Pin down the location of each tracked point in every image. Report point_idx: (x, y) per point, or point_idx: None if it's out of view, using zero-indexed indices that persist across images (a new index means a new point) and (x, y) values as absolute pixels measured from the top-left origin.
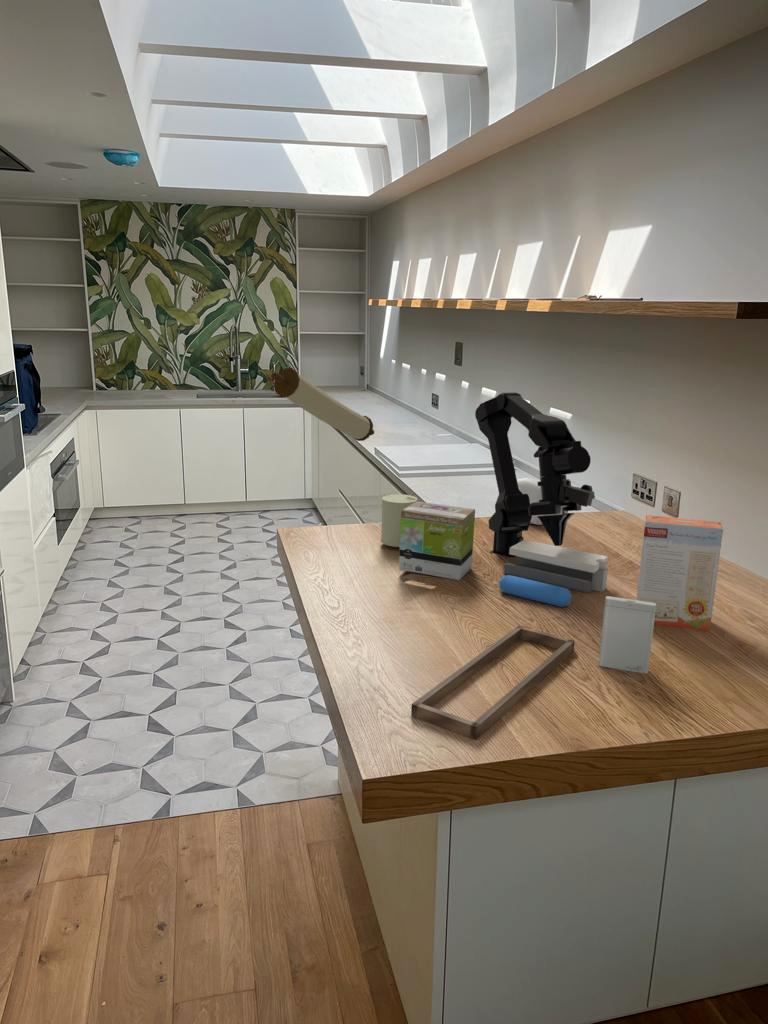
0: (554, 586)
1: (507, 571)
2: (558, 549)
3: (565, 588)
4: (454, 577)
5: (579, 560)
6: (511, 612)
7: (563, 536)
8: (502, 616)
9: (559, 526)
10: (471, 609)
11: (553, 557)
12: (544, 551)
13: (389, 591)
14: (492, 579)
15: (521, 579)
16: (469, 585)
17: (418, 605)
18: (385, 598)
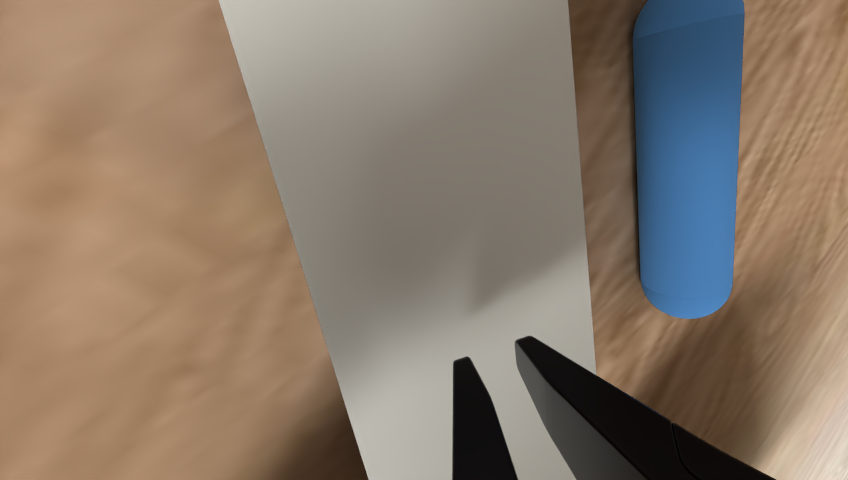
0: (734, 59)
1: None
2: (419, 370)
3: (721, 2)
4: None
5: (535, 76)
6: (775, 134)
7: (466, 422)
8: (807, 133)
9: (757, 470)
10: (802, 232)
11: (584, 263)
12: None
13: (796, 440)
14: None
15: (730, 229)
16: (670, 387)
17: (831, 331)
18: (827, 405)
